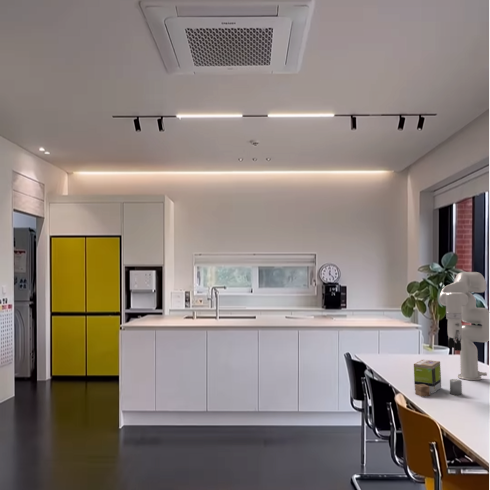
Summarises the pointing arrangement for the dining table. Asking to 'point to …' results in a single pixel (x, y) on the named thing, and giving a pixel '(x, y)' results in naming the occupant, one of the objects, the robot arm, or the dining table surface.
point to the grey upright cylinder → (455, 387)
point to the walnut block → (422, 390)
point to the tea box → (428, 374)
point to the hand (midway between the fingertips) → (454, 349)
